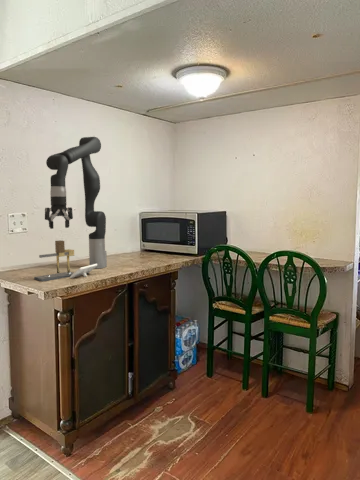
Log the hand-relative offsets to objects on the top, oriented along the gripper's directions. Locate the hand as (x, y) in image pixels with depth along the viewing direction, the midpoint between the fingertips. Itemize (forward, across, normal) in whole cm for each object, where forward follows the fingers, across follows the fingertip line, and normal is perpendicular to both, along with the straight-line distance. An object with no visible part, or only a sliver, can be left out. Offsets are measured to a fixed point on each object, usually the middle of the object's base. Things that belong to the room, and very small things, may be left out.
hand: (59, 228), depth 188 cm
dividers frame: (+24, +2, -1) cm, 24 cm away
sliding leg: (+23, 0, -1) cm, 23 cm away
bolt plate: (+25, +1, -2) cm, 26 cm away
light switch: (+26, -11, +5) cm, 28 cm away
